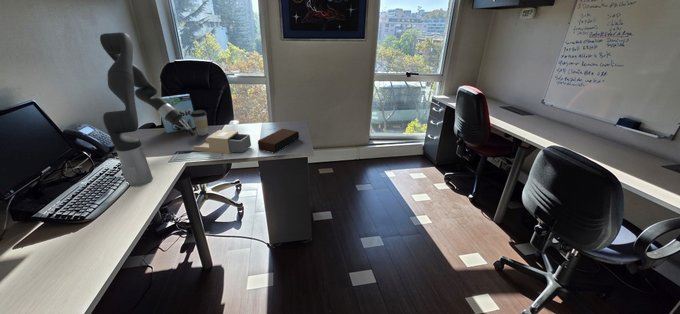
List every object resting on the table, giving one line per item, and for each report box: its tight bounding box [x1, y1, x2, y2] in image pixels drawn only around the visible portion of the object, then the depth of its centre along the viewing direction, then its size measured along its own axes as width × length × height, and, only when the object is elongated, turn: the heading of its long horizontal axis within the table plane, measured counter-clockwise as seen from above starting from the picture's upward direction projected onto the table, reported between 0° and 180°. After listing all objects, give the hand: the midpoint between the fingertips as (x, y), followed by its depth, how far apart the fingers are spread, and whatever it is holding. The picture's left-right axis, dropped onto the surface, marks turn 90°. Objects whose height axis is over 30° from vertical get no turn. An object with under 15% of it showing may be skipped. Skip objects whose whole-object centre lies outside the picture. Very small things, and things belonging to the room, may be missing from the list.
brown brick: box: [257, 128, 300, 154], centre depth 167 cm, size 24×12×6 cm, turn 153°
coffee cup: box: [191, 109, 209, 136], centre depth 180 cm, size 9×9×15 cm
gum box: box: [160, 93, 196, 134], centre depth 186 cm, size 20×5×23 cm, turn 123°
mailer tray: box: [228, 133, 252, 153], centre depth 159 cm, size 10×20×7 cm, turn 79°
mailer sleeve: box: [193, 129, 239, 155], centre depth 161 cm, size 12×22×9 cm, turn 79°
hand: (193, 134), depth 162 cm, fingers closed
